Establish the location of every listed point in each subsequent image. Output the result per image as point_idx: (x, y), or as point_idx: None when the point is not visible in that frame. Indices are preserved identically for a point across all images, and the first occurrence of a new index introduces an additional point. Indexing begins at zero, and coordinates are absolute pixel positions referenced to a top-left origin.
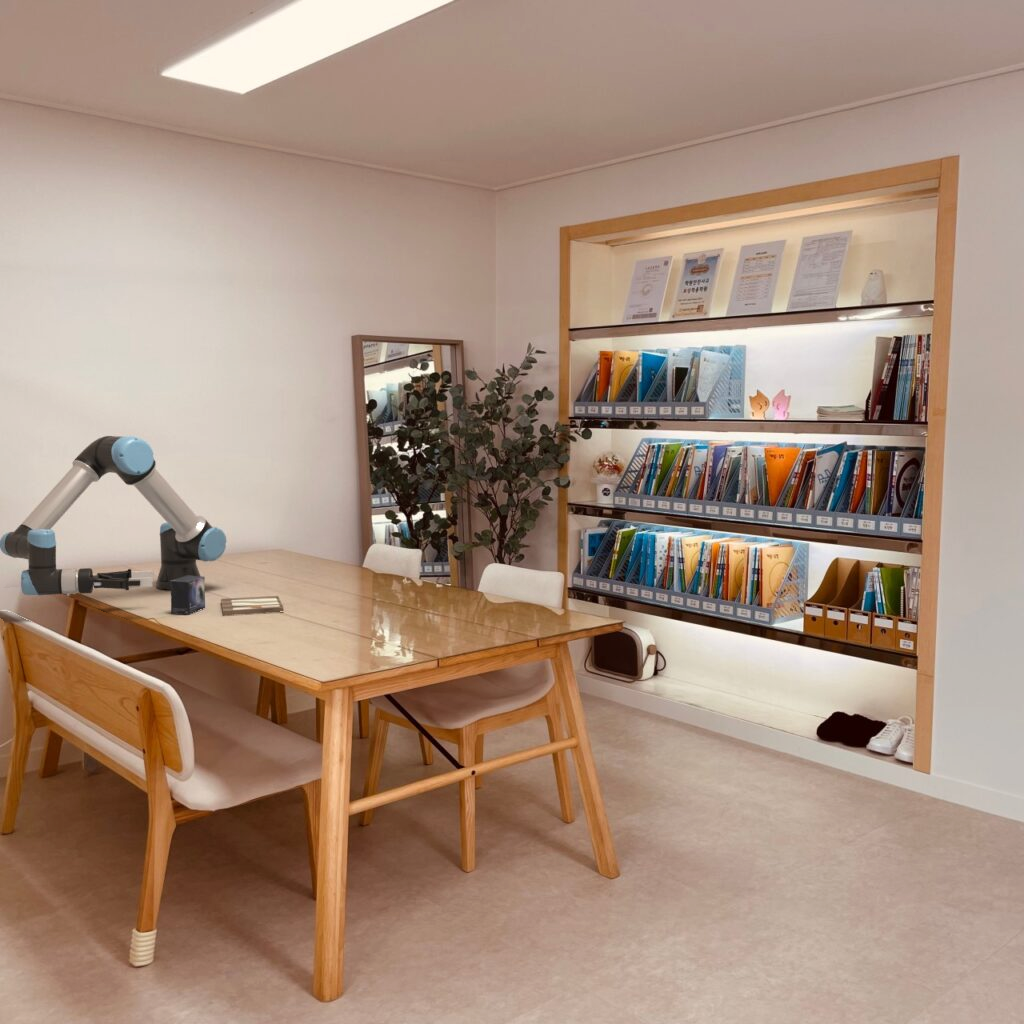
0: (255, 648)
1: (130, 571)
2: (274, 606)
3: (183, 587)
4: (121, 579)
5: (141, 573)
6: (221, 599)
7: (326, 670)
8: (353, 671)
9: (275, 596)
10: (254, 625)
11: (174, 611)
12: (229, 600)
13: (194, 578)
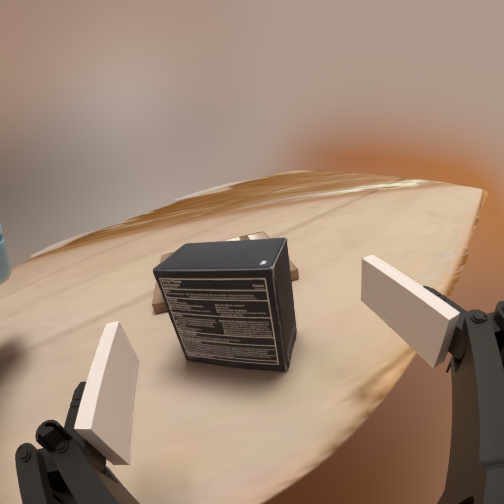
0: (457, 213)
1: (70, 435)
2: (259, 236)
3: (286, 264)
4: (496, 341)
5: (111, 380)
6: (161, 302)
7: (466, 190)
8: (457, 186)
9: (166, 255)
10: (363, 235)
11: (289, 355)
12: None
13: (224, 243)
